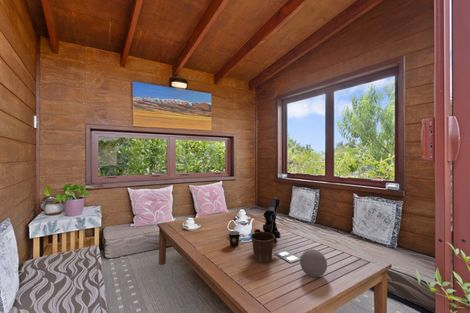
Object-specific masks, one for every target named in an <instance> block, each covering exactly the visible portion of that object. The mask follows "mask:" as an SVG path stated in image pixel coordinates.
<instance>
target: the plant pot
mask: <svg viewBox="0 0 470 313" xmlns="http://www.w3.org/2000/svg"><path fill="white" fill-rule="evenodd" d="M250 238H251V243H252V251H253V259H254V261H255V262H256V263H258V264H267V263H271V262H272V261H273V249H274V243H275V242H274V238H275V236H274V235H273V234H271V233H267V232H256V233H252V234H251V235H250Z"/></svg>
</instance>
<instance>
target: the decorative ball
mask: <svg viewBox="0 0 470 313" xmlns="http://www.w3.org/2000/svg"><path fill="white" fill-rule="evenodd" d="M299 258H300V261H299V264H300V268H301V269H302V271H303V273H305V275H307V276H308V277H312V278H320V277H322V276H323V275H324V274H325V273H326V272H327V268H328V262H327V259H326V257H325V255H324V254H323V253H322V252H321V251H320V250H317V249H315V248H314V249H312V248H311V249H307V250H305V251H304V252H303V253H302V254H301V255H300V257H299Z"/></svg>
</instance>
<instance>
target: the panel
mask: <svg viewBox="0 0 470 313" xmlns="http://www.w3.org/2000/svg"><path fill="white" fill-rule="evenodd" d="M274 255H275V256H277V257H279V258H280V259H282V260H284V261H285V262H287V263H289V264H293V263H296V262H300V258H301V257H299V256H297V255H295V254H293V253H291V252H289V251H288V250H286V249H285V250H282V251H279V252H274Z"/></svg>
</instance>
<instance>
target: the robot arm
mask: <svg viewBox="0 0 470 313" xmlns="http://www.w3.org/2000/svg"><path fill="white" fill-rule="evenodd" d="M269 200H270V201H269V207H268V208H266V210H265V212H263V219H264V221H265V222H264V224H262V230H261V229H258V228H255V229H254V233H256V232H267V233H271V234H273V235H274V236H275V238H274V243H277V242H279V240H278V239H281V231H279V229H278V226H277V223H276V222H277V214H278V209H279V208H280V206H281V204H282V203H281V199H280V198H279V199H278V198H277V197H275V198H273V197H272V198H270V199H269Z"/></svg>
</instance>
